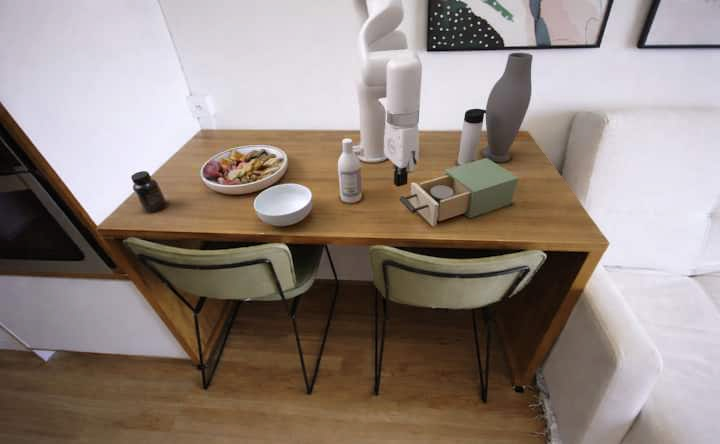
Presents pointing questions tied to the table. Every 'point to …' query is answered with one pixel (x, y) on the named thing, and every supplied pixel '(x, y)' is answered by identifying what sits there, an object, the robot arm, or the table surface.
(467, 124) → the travel mug
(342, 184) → the bath foam
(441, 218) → the drawer
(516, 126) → the vase
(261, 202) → the cereal bowl
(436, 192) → the tin
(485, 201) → the cabinet
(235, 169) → the bowl
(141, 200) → the supplement bottle
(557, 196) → the table surface
